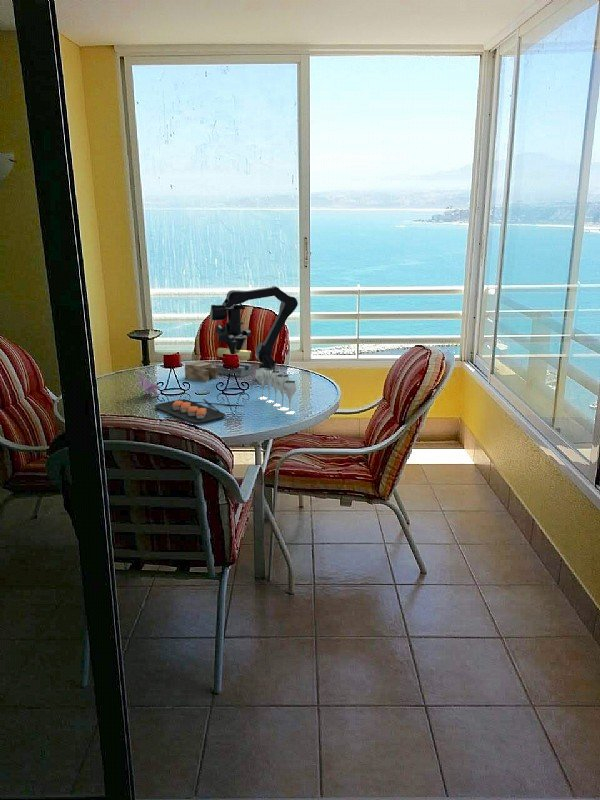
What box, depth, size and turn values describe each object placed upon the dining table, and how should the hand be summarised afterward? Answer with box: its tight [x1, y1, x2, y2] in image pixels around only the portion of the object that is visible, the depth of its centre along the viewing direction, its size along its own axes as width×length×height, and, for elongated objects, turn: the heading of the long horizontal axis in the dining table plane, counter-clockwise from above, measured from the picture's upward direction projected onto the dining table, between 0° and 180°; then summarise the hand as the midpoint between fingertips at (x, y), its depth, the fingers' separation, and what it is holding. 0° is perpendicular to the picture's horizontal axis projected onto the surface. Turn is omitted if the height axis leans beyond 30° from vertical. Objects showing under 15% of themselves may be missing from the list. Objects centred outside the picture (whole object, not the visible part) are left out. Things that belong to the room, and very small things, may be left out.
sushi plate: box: [154, 398, 244, 424], centre depth 239 cm, size 29×30×4 cm
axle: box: [216, 347, 253, 361], centre depth 280 cm, size 16×4×4 cm, turn 64°
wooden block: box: [184, 360, 219, 383], centre depth 284 cm, size 12×8×6 cm, turn 62°
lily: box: [134, 373, 162, 400], centre depth 253 cm, size 12×12×10 cm
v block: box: [215, 362, 254, 378], centre depth 295 cm, size 14×10×4 cm
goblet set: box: [254, 367, 297, 415], centre depth 244 cm, size 28×6×13 cm, turn 30°
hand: (235, 354), depth 280 cm, fingers closed on axle, 4 cm apart
